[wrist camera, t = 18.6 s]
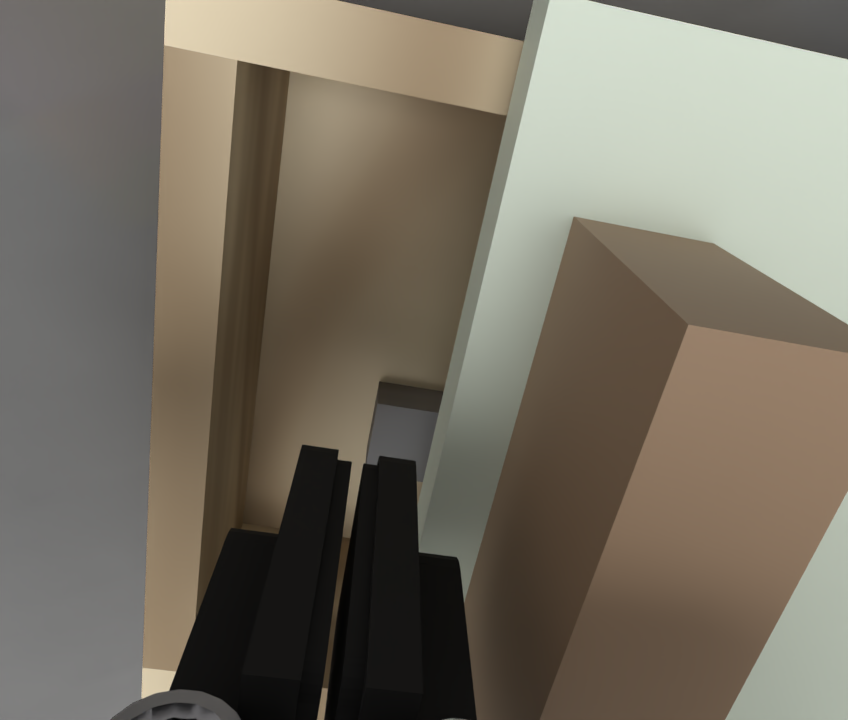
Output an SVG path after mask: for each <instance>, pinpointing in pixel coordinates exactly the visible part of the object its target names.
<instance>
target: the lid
mask: <svg viewBox="0 0 848 720" xmlns="http://www.w3.org/2000/svg"><path fill="white" fill-rule="evenodd" d="M417 507H418V541H419V552H421V553H429V554H437V555H444V556H452V557H457V559H458V560H459V564H460V570H461V579H462V588H463V597H464V606H465V616H466V625H467V634H468V643H469V652H470V661H471V670H472V679H473V689H474V698H475V707H476V716H477V720H848V59H843V58H839V57H835V56H830V55H826V54H821V53H817V52H813V51H808V50H804V49H799V48H795V47H791V46H786V45H782V44H777V43H773V42H769V41H764V40H760V39H755V38H751V37H747V36H742V35H738V34H733V33H729V32H725V31H720V30H716V29H711V28H707V27H703V26H698V25H694V24H689V23H685V22H681V21H676V20H672V19H667V18H663V17H659V16H654V15H650V14H645V13H641V12H637V11H632V10H628V9H623V8H619V7H615V6H610V5H606V4H601V3H597V2H593V1H588V0H533V5H532V9H531V13H530V18H529V22H528V27H527V31H526V35H525V40H524V44H523V48H522V53H521V57H520V61H519V66H518V70H517V74H516V79H515V83H514V87H513V92H512V96H511V100H510V105H509V109H508V114H507V118H506V122H505V127H504V131H503V135H502V140H501V144H500V148H499V153H498V157H497V161H496V166H495V170H494V174H493V179H492V183H491V188H490V192H489V196H488V201H487V205H486V209H485V214H484V218H483V222H482V227H481V231H480V235H479V240H478V244H477V248H476V253H475V257H474V261H473V266H472V270H471V275H470V279H469V283H468V288H467V292H466V296H465V301H464V305H463V309H462V314H461V318H460V322H459V327H458V331H457V335H456V340H455V344H454V349H453V353H452V357H451V362H450V366H449V370H448V375H447V379H446V383H445V388H444V392H443V396H442V401H441V405H440V409H439V414H438V418H437V422H436V427H435V431H434V436H433V440H432V444H431V449H430V453H429V457H428V462H427V466H426V470H425V475H424V479H423V483H422V488H421V492H420V496H419V501H418V505H417Z"/></svg>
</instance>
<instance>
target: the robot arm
mask: <svg viewBox="0 0 848 720" xmlns="http://www.w3.org/2000/svg"><path fill="white" fill-rule="evenodd" d="M338 453H339V450H337V449H330V448H323V447H316V446H310V445H302V447H301V450H300V454H299V458H298V461H297V465H296V469H295V473H294V477H293V480H292V484H291V488H290V492H289V496H288V499H287V503H286V507H285V511H284V514H283V518H282V522H281V526H280V530H279V533H278V534H275V533H268V532H260V531H252V530H244V529H237V528H231V529H230V530H229V532H228V534H227V536H226V539H225V541H224V544H223V547H222V549H221V552H220V555H219V558H218V560H217V563H216V566H215V568H214V571H213V574H212V576H211V579H210V582H209V584H208V587H207V590H206V593H205V595H204V598H203V601H202V603H201V606H200V609H199V611H198V614H197V617H196V619H195V622H194V625H193V628H192V630H191V633H190V636H189V638H188V641H187V644H186V646H185V649H184V652H183V654H182V657H181V660H180V663H179V665H178V668H177V671H176V673H175V676H174V679H173V681H172V684H171V687H170V689H169V691H166V692H159V693H155V694H153V695H150V696H148V697H145V698H143V699H141V700H138V701H136V702H133V703H132V704H130V705H129V706H128V707H126V708H125V709H123V710H122V711H121V712H119V713H118V714H117V715H115V716H114V717H112V718H111V719H110V720H317V717H318V711H319V705H320V699H321V693H322V687H323V680H324V673H325V666H326V659H327V652H328V644H329V636H330V628H331V621H332V613H333V605H334V597H335V590H336V582H337V574H338V567H339V559H340V551H341V543H342V536H343V528H344V520H345V512H346V505H347V497H348V489H349V481H350V474H351V466H352V462H351V461H344V460H338ZM324 720H477V716H476V707H475V698H474V689H473V679H472V670H471V661H470V652H469V643H468V634H467V625H466V616H465V606H464V597H463V588H462V579H461V570H460V564H459V560H458V559H457V557H452V556H444V555H437V554H429V553H421V552H419V541H418V507H417V473H416V461H414V460H407V459H400V458H393V457H386V456H379V458H378V462H377V465H372V464H365V463H364V464H363V468H362V473H361V479H360V485H359V491H358V496H357V502H356V508H355V513H354V519H353V525H352V531H351V536H350V542H349V548H348V553H347V559H346V565H345V571H344V576H343V582H342V588H341V593H340V599H339V605H338V612H337V618H336V626H335V634H334V642H333V650H332V659H331V667H330V675H329V683H328V692H327V700H326V708H325V716H324Z"/></svg>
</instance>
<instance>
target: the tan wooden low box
mask: <svg viewBox="0 0 848 720" xmlns="http://www.w3.org/2000/svg"><path fill="white" fill-rule="evenodd" d="M523 44H524V41H521V40H516V39H512V38H507V37H503V36H498V35H493V34H489V33H484V32H480V31H475V30H470V29H466V28H461V27H457V26H452V25H448V24H443V23H438V22H434V21H429V20H425V19H420V18H416V17H411V16H406V15H402V14H397V13H393V12H388V11H384V10H379V9H374V8H370V7H365V6H361V5H356V4H352V3H347V2H342V1H338V0H166V6H165V35H164V64H163V93H162V121H161V150H160V179H159V208H158V237H157V266H156V295H155V324H154V353H153V381H152V410H151V439H150V468H149V497H148V526H147V555H146V584H145V613H144V641H143V670H142V699H143V698H145V697H148V696H150V695H153V694H155V693H159V692H166V691H169V689H170V687H171V684H172V681H173V679H174V676H175V673H176V671H177V668H178V665H179V663H180V660H181V657H182V654H183V652H184V649H185V646H186V644H187V641H188V638H189V636H190V633H191V630H192V628H193V625H194V622H195V619H196V617H197V614H198V611H199V609H200V606H201V603H202V601H203V598H204V595H205V593H206V590H207V587H208V584H209V582H210V579H211V576H212V574H213V571H214V568H215V566H216V563H217V560H218V558H219V555H220V552H221V549H222V547H223V544H224V541H225V539H226V536H227V534H228V532H229V530H230V529H231V528H237V529H244V530H252V531H260V532H268V533H275V534H278V533H279V530H280V526H281V522H282V518H283V514H284V511H285V507H286V503H287V499H288V496H289V492H290V488H291V484H292V480H293V477H294V473H295V469H296V465H297V461H298V458H299V454H300V450H301V447H302V445H310V446H316V447H323V448H330V449H337V450H339V453H338V460H344V461H351V462H352V466H351V474H350V481H349V489H348V497H347V505H346V512H345V520H344V528H343V536H342V543H341V551H340V559H339V567H338V574H337V582H336V590H335V597H334V605H333V613H332V621H331V628H330V636H329V644H328V652H327V659H326V666H325V673H324V680H323V687H322V693H321V699H320V705H319V711H318V717H317V720H324V716H325V708H326V700H327V692H328V683H329V675H330V667H331V659H332V650H333V642H334V634H335V626H336V618H337V612H338V605H339V599H340V593H341V588H342V582H343V576H344V571H345V565H346V559H347V553H348V548H349V542H350V536H351V531H352V525H353V519H354V513H355V508H356V502H357V496H358V491H359V485H360V479H361V473H362V468H363V464H364V463H365V464H372V465H377V462H378V458H379V456H386V457H393V458H400V459H407V460H414V461H416V473H417V505H418V501H419V496H420V492H421V488H422V483H423V479H424V475H425V470H426V466H427V462H428V457H429V453H430V449H431V444H432V440H433V436H434V431H435V427H436V422H437V418H438V414H439V409H440V405H441V401H442V396H443V392H444V388H445V383H446V379H447V375H448V370H449V366H450V362H451V357H452V353H453V349H454V344H455V340H456V335H457V331H458V327H459V322H460V318H461V314H462V309H463V305H464V301H465V296H466V292H467V288H468V283H469V279H470V275H471V270H472V266H473V261H474V257H475V253H476V248H477V244H478V240H479V235H480V231H481V227H482V222H483V218H484V214H485V209H486V205H487V201H488V196H489V192H490V188H491V183H492V179H493V174H494V170H495V166H496V161H497V157H498V153H499V148H500V144H501V140H502V135H503V131H504V127H505V122H506V118H507V114H508V109H509V105H510V100H511V96H512V92H513V87H514V83H515V79H516V74H517V70H518V66H519V61H520V57H521V53H522V48H523Z"/></svg>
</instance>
